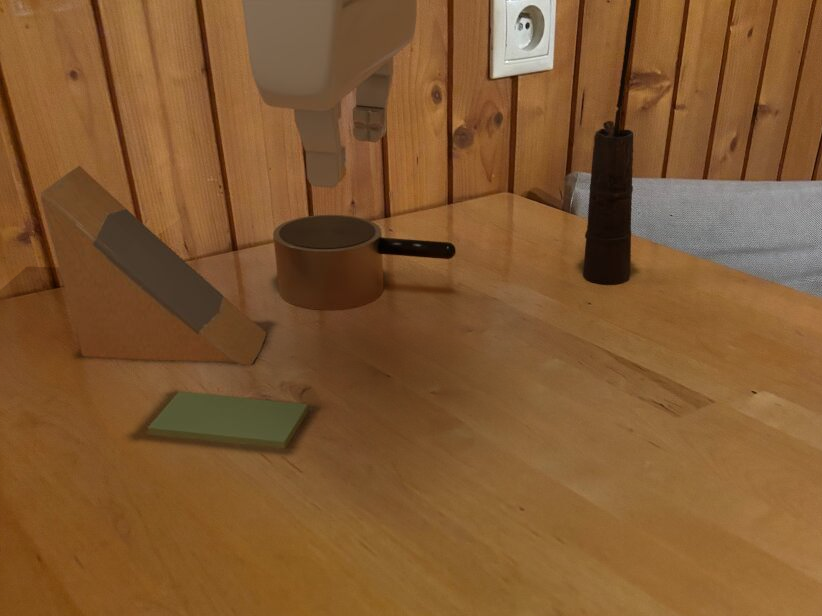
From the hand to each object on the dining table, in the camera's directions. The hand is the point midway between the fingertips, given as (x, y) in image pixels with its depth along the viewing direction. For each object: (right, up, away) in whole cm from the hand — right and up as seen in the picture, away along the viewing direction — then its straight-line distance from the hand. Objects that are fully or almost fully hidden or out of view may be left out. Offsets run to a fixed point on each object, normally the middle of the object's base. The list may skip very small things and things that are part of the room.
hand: (349, 159), depth 55 cm
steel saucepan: (-3, +7, +44) cm, 45 cm away
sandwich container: (-20, -2, +33) cm, 39 cm away
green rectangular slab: (-12, -12, +21) cm, 27 cm away
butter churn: (+23, +11, +50) cm, 55 cm away
